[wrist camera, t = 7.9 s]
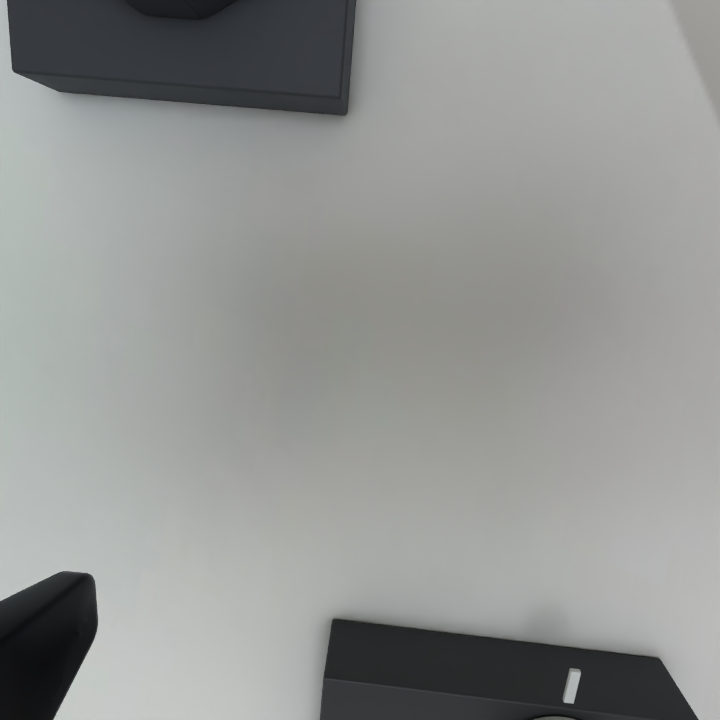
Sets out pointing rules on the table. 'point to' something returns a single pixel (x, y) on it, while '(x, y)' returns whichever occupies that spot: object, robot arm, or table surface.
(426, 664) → the console
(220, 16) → the button block
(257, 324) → the table surface
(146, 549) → the table surface
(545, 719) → the timer knob
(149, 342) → the table surface
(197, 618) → the table surface
